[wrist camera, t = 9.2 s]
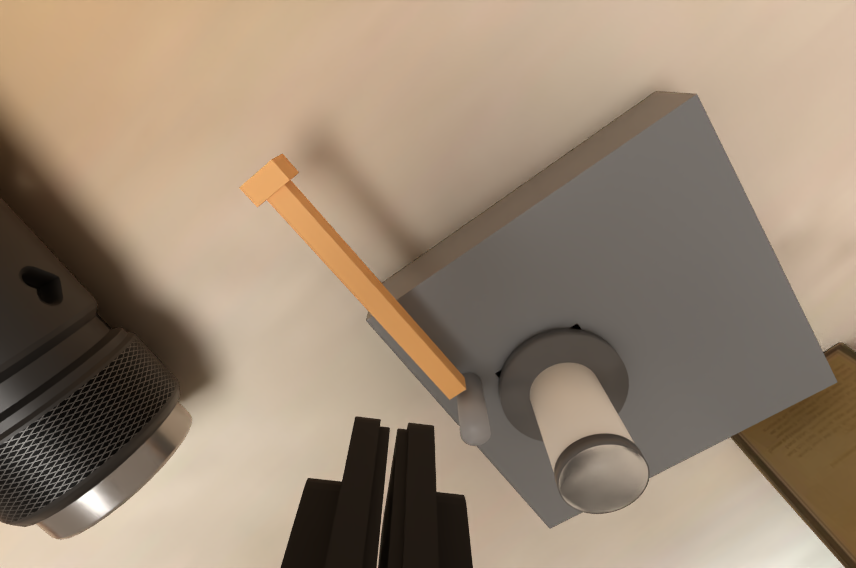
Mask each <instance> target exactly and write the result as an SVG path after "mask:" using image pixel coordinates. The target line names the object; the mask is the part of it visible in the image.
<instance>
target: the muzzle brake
mask: <svg viewBox="0 0 856 568" xmlns="http://www.w3.org/2000/svg"><path fill="white" fill-rule="evenodd" d="M96 311H97V302H96V299H95V298H94V297H93V296H92V295H91V294H90V293H89V292H88V291H87V290H86V289H85V288H84V287H83V286H82V285H81V284H80V283H79V281H78V280H77V279H76V278H75V277H74V276H73V275H72V274H71V273H70V272H69V271H68V270H67V268H66V267H65V266H64V265H63V264H62V263H61V262H60V261H59V260H58V259H57V258H56V257H55V255H54V254H53V253H52V252H51V251H50V250H49V249H48V248H47V247H46V246H45V244H44V243H43V242H42V241H41V240H40V239H39V238H38V237H37V236H36V235H35V234H34V233H33V232H32V230H31V229H30V228H29V227H28V226H27V225H26V224H25V223H24V222H23V221H22V220H21V219H20V218H19V216H18V215H17V214H16V213H15V212H14V211H13V210H12V209H11V208H10V207H9V206H8V205H7V204H6V203H5V202H4V201H3V200H2V199H1V198H0V521H1V522H3V523H6V524H10V525H15V526H22V527H26V526H30V525H34V524H36V525H38V526H39V527H40V528H41V529H42V530H44V531H45V532H46V533H47V534H49V535H50V536H51V537H52V538H56V539H60V540H62V539H67V538H71V537H73V536H75V535H78V534H80V533H82V532H83V531H85V530H87V529H89V528H90V527H92V526H94V525H95V524H97V523H98V522H100V521H101V520H102V519H104V518H105V517H107V516H108V515H110V514H111V513H112V512H113V511H115V510H116V509H117V508H119V507H120V506H121V505H122V504H124V503H125V502H126V501H127V500H128V499H130V498H131V497H132V496H133V495H134V494H135V493H137V492H138V491H139V490H140V489H141V488H142V487H143V486H144V485H145V484H146V483H147V482H148V481H149V480H150V479H151V478H152V477H153V476H154V475H155V474H156V473H157V472H158V471H159V470H160V469H161V468H162V467H163V466H164V465H165V464H166V462H167V461H168V460H169V459H170V458H171V457H172V455H173V454H174V453H175V452H176V450H177V449H178V447H179V446H180V445H181V443H182V442H183V440H184V439H185V437H186V435H187V434H188V432H189V430H190V427H191V424H192V417H191V415H190V413H189V412H188V411H187V410H186V409H185V408H184V407H183V406H182V405H181V404H180V403H179V402H178V400H179V397H180V389H179V382H178V380H177V379H176V378H175V376H174V375H173V374H172V373H171V372H170V371H169V370H168V369H167V368H166V367H165V366H164V365H163V363H162V362H161V361H160V360H159V359H158V358H157V357H156V356H155V355H154V354H153V353H152V352H151V350H150V349H149V348H148V347H147V346H146V345H145V344H144V343H143V342H142V341H141V340H140V339H139V337H138V336H137V335H136V334H135V333H133V332H131V333H127V332H126V331H125V330H124V329H123V328H122V327H120V328H114V329H111V328H110V327H109V326H108V325H107V324H106V323H105V321H104V320H103V319H102V318H101V317H100V316H99V315H98V314H97V313H96Z"/></svg>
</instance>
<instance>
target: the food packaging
mask: <svg viewBox="0 0 856 568" xmlns="http://www.w3.org/2000/svg"><path fill="white" fill-rule="evenodd" d="M824 355H825V357H826V359H827V361H828V363H829V365H830V368H831V370H832V372H833V374H834V376H835V378H836V380H837V383H835V384H833V385H831V386H829V387H827V388H826V389H824V390H822V391H820V392H818V393H816V394H814V395H812V396H810V397H808V398H806V399H804V400H802V401H800V402H798V403H796V404H794V405H792V406H790V407H788V408H786V409H784V410H782V411H780V412H778V413H776V414H774V415H772V416H771V417H769V418H767V419H765V420H763V421H761V422H759V423H757V424H755V425H753V426H751V427H749V428H747V429H745V430H743V431H741V432H739V433H737V434H735V435H733V436H731V438H732V440H733V441H734V442H735V443H736V444H737V445H738V446H739V448H740V449H741V450H742V451H743V452H744V453H745V455H746V456H747V457H748V458H749V459H750V460H751V461H752V463H753V464H754V465H755V466H756V467H757V468H758V470H759V471H760V472H761V473H762V474H763V475H764V477H765V478H766V479H767V480H768V481H769V482H770V483H771V484H772V486H773V487H774V488H775V489H776V490H777V491H778V492H779V494H780V495H781V496H782V497H783V498H784V499H785V500H786V501H787V503H788V504H789V505H790V506H791V507H792V508H793V509H794V511H795V512H796V513H797V514H798V515H799V516H800V517H801V518H802V520H803V521H804V522H805V523H806V524H807V525H808V526H809V527H810V529H811V530H812V531H813V532H814V533H815V534H816V535H817V536H818V538H819V539H820V540H821V541H822V542H823V543H824V544H825V545H826V547H827V548H828V549H829V550H830V551H831V552H832V553H833V554H834V556H835V557H836V558H837V559H838V560H839V561H840V562H841V563H842V565H843V566H844V567H845V568H856V352H854V351H853V350H852V349H850V348H849V347H848V346H846V345H845V344H844V343H838V344H837V345H835V346H833V347H832V348H830V349H829V350H828V351H826V352H825V353H824Z"/></svg>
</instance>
